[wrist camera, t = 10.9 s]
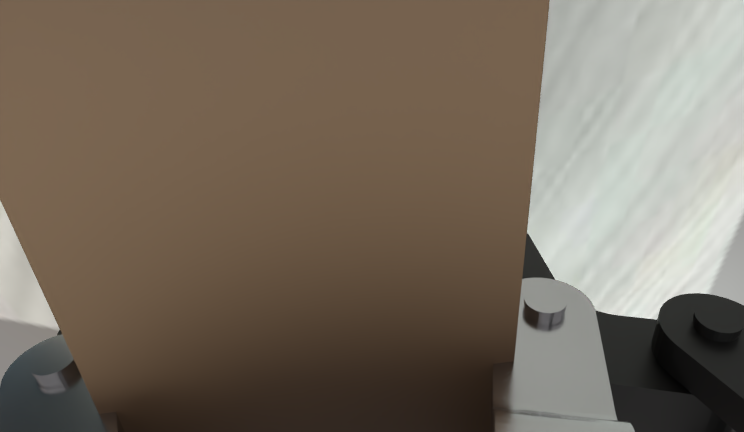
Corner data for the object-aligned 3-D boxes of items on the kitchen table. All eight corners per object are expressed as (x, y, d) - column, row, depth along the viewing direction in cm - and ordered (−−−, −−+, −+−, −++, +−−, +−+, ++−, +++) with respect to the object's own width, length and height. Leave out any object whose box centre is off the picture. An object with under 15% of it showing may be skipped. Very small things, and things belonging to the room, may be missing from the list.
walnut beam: (90, -212, 8) (-226, -289, 3) (411, -233, 9) (582, -331, 4) (255, 436, 16) (238, 716, 11) (423, 414, 16) (482, 677, 11)
